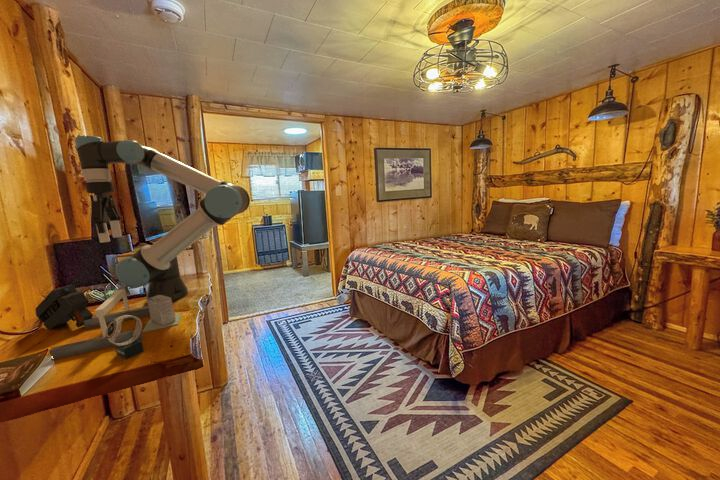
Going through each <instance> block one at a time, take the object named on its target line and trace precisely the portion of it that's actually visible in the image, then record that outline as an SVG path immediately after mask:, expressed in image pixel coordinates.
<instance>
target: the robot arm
mask: <svg viewBox="0 0 720 480" xmlns="http://www.w3.org/2000/svg"><path fill="white" fill-rule="evenodd" d="M74 141H75V147H76V149H75V150H76V152H77V156H78V160H79V163H80V168H81V173H80V174H81V176H82V177H83V180H84V181H85V183H84V185H85V188H86V189H85V190H86V193H87V194H89V198H90V204H91V205H90V207H91V208H90V210H91V225H95V227H96V231H97V235H98V240H99V244H100V243H110V242H111V238H110V234H109V230H108V226H107V223H106V221H105V220H106V215H107V217H108V219H109V220H110V221H108V222H109V225H110V229H111V235H112V238H115V239H116V238H122V237H123V234H122V229H121V225H120V221H121V220H122V217H120V213H119V211H118V208H117V206H116V203H115V201H114V197H113V195H112V194H109V193H113V192H114V191H115V190H114V184H113V182H112V175H111V171H110V167H109V165H111V164H129V165H139V166H143V167H145V168H147V169H150V170H152V171H155V172H157V173H158V174H161V175H162V176H164V177H167V178H169V179H171V180H173V181H176V182H178V183H180V184H182V185H184V186H187V187H189V188H191V189H194V190H196V191H198V192H200V193H202V194H203V195H205V196H204V198H202V199H201V200H200V201H199V202H198V208H197V209H196V210H194V211H193V212H192V213H190V214H189V215H188V216H187V217H185V218H184V219H183V220H181V221H180V222H179V223H178V224H177V225H175V226H174V227H173V228H172V229H171V230H169V231H168V232H166V233H165V234H164V235H162V237H160V238H159V239H158V240H156V241H155V242H154V243H153V244H151V245H149V244H146V245H143V246H142V247H141V248H139V249H138V250H136V252H134V253H133V254H132V255H130V256H128V257H125V258H122V259H121V260H120V261H118V263H117V264H116V266H115V275H116V277H117V279H118V281H119V282H120V283H121V284H122V285H124V286H128V288H131V289H136V288H137V289H138V288H141V287H145V286H147V285H148V287H147V292H146V300H147V299H148V298H151V297H154V296H157V295H163V296H167V297H170V298H171V300H172V302H173V301H175V300H179V299H181V298H183V297H185V296H187V295H188V294H189V290H188V286H187V285H186V284H185V282H184V280H183V278H182V277H181V272H180V268H179V262H178V256H179V255H180V254H181V253H182V252H184V251H185V250H187V249H188V248H189V247H190V246H192V245H193V244H194V243H196V241H198V240H199V239H201V237H203V236H204V235H206V234H207V233H208V232H209V231H211V230H212V229H213V228H214V227H216V226H224V225H225V224H226V223H227V222H229V221H230V220H231V219H232V218H234V217H235V216H237V215H239V214H242V213H244V212H246V211H247V210H248V208H249V207H250V203H251V198H250V195H249V193H248V191H247V190H246V188H244V187H242V186H239V185H238V184H237V185H236V184H234V183H231V182H229V181H226V180H225V179H224V180H221V181H220V180H219V179H216V178H215V177H213V176H210V175H208V174H206V173H204V172H202V171H199V170H198V169H196V168H193V167H191V166H189V165H187V164H184V163H182V162H181V161H178V160H176V159H174V158H172V157H170V156H168V155H165V154H163V153H160V152H159V151H158V150H157V149H155V148H153V147H151V146H146V145H142V144H141V143H139V142H138V141H136V140H133V139H131V140H127V139H124V140H114V141H104V140H103V138H102V137H100V136H96V135H79V136H76V137H75V138H74ZM91 194H92V195H91Z"/></svg>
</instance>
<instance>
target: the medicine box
mask: <svg viewBox="0 0 720 480" xmlns="http://www.w3.org/2000/svg"><path fill="white" fill-rule="evenodd" d="M146 302H147V306H148V308H149V312H150V317H149V318H150V320H151V321H152V322H154V323H157V324H160V325H166V324H169V323H171V322H173V321H175V320H176V318H175V309H174V304H173V301H172V300H171V298H170V297H167V296H163V295H157V296H154V297H151V298H148V299H147V298H146Z"/></svg>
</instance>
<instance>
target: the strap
mask: <svg viewBox="0 0 720 480" xmlns="http://www.w3.org/2000/svg"><path fill="white" fill-rule="evenodd" d="M129 293H130V291H129V287H128V286H125V285H124V286H120V287H118V288H117V290H116V291H115V292H114V293H112V295H110V296H109V297H108V298H106V300H105V301H104V302H102V304H100V305H99V306H98V307H97V308H96V309H95V310H94V314H95V316H96V317H98V318H99V322H100V326H99V327H100V331H101V333H102V337H106V329H107V327H108V325H107V324H106V322H105V318H104V315H106V314H109V312H110V311H111V310H112V309H113V308H114V307H115V306H116V305H117V304H118V303H119V301H121V300H122V301H123V305H124V311H129V310H131V309H130V305H129V301H128V296H127V295H128V294H129Z"/></svg>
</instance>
